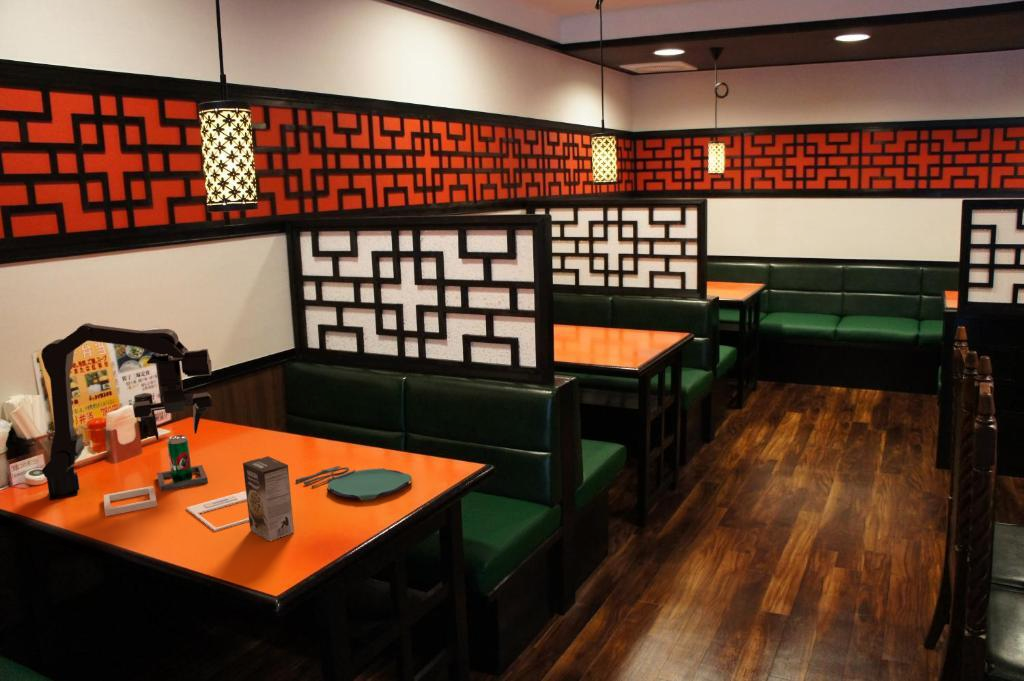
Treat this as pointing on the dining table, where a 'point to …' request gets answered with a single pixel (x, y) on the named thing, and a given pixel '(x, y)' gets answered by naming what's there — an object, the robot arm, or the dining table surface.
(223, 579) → the dining table surface
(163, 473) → the back socket
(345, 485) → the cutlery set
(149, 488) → the front socket
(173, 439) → the soda can
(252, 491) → the coffee box
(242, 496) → the photo frame
